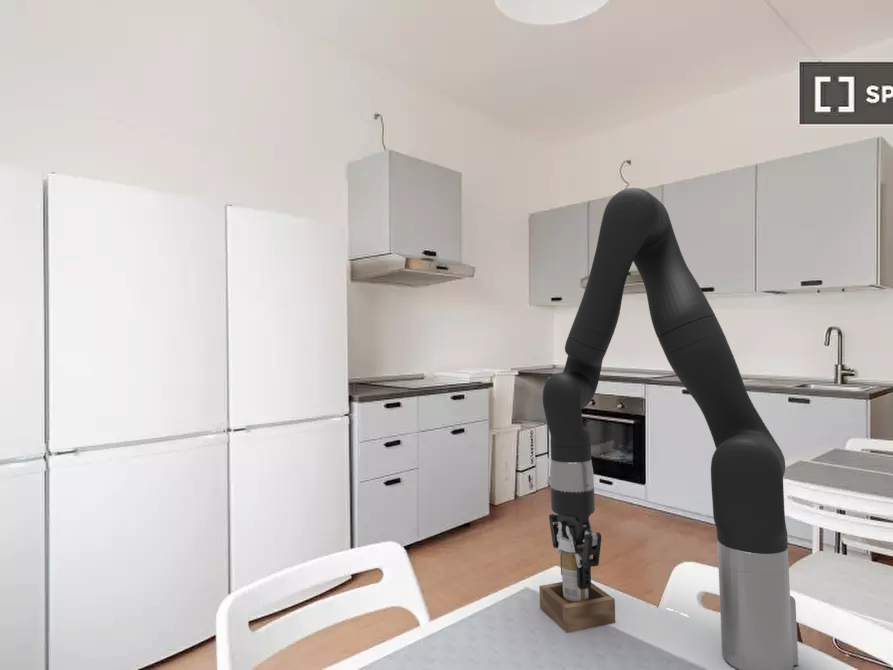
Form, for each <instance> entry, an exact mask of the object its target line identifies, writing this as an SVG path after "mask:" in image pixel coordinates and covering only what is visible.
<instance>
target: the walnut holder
mask: <svg viewBox="0 0 893 670" xmlns="http://www.w3.org/2000/svg"><path fill="white" fill-rule="evenodd" d="M615 601H616V599H615V597H612V595H610V594H608V593H607V592H606V591H604V590H603V589H602V588H600V587H599V586H597V585H595V583H593V582H591V587H590V588H588V600H586V601H581V602H576V603H571V604H568V603H567V602H566V601H564V596H563V582H562V581H560V582H555V583H549V584H543V585H539V609H541V610H542V612H544V613H545V614H546V615H547V616H548V617H549V618H550V619H551V620H552V621H553V622H555V624H557V625H558V626H559V627H560V628H561V629H562V630H563V631H564V632H566V633H572V632H577V631H582V630H587V629H591V628H597V627H600V626H604V625H611V624H615V623H616V602H615Z"/></svg>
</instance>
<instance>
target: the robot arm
mask: <svg viewBox="0 0 893 670" xmlns="http://www.w3.org/2000/svg"><path fill="white" fill-rule="evenodd" d="M598 233H599V235H598V238H597V239H598V240H597V244H596V248H595V253H594V257H593V261H592V264H591V269H590V272H589V276H588V280H587V282H586V286H585V289H584V292H583V295H582V299H581V301H580V304H579V306H578V309H577V311H576V314H575V318H574V319H573V323H572V324H571V328H570V330H569V333H568V336H567V339H566V342H565V344H564V345H565V346H564V351H565V354H566V355H567V358H566V362H565V365H564V369H563V370H562V372H557V373H554V374H552V375H551V376H549V377H548V378H547V379H546V381H545V383H544V386H543V389H542V405H543V411H544V416H545V420H546V425H547V428H548V430H549V433H550V435H549V436H550V444H549V445H550V468H549V474H550V475H549V476H550V479H549V480H550V505H551V507H550V508H551V511H552V512H553V513H552V514H549V515H548V519H549V525H550V534H551V541H552V547H553V548H554V549H557V553H558V555H560V575H561V576H562V556H561V549H560V538H562V537H565V538H567V539H569V541H570V546H571V551H572V553H574V554H575V557H576V562H577V566H578V567H577V583H578V588H580V589H581V590H583V589H588V588H590V587H591V583H592V573H591V570H592V567H593V568H594V567H597V566H599V565H600V557H601V556H600V555H601V546H602V535H601V533H600V532H594V531H593V530H592V529H591V528H592V527H591V524H590V523H591V522H590V519H589V518H590V517H591V515H593V514H594V513H595V511H596V503H595V502H596V501H595V481H594V480H595V478H594V477H595V476H594V468H593V462H592V441H591V433H590V430H589V429H588V428H587V427H586V426H584V422H583V420H584V419H583V415H582V409H584V408H585V407H587V406H588V405H589V404H590V403H591V401H592V400H593V398H594V396H595V393H596V390H597V388H598V384H599V380H600V376H601V372H602V365H603V360H604V358H605V356H606V354H607V351H608V348H609V346H610V344H611V342H612V338H613V337H614V333H615V331H616V328H617V325H618V321H619V317H620V314H621V307H622V301H623V297H624V296H623V295H624V290H625V285H626V282H627V278H628V275H629V272H630V269H631V268H632V264H633V263H634V265H635V267H636V269H637V271H638V272H639V274H640V277H641V279H642V282H643V285H644V289H645V293H646V298H647V303H648V305H647V306H648V311H649V314H650V321H651V323H652V326H653V329H654V332H655V335H656V337H657V339H658V341H659V344H660V346H661V348H662V350H663V352H664V356H665V357H666V359H667V361H668V363H669V365H670V367H671V369H672V371H673V372H674V373H675V375H676V376H677V378H678V379H679V381H680V382H681V384H682V385H683V386H684V389H686V391H687V392H688V393H689V395H690V396H691V397H692V398H693V399H694V401H695V402H696V404H697V406H698V407H699V408H700V411H701V413H702V415H703V416H704V420H705V421H706V423H707V426H708V429H709V432H710V435H711V437H712V441H713V444H714V446H715V451H714V452H713V454H712V456H711V461H710V462H711V463H710V482H711V483H710V484H711V485H710V486H711V498H712V500H711V501H712V515H713V521H714V524H715V527H716V541H717V542H716V543H717V545H716V547H717V561H718V562H717V564H718V584H719V585H718V587H719V610H720V632H721V633H720V634H721V637H720V638H721V653H722V655H721V656H722V657H723V659H724V660H725V661H726V662H727V663H728V664H729V665H731V666H732V667H733V668H735V669H737V670H792V669H793V670H794V667H795V666H798V665H799V651H798V646H799V645H798V628H797V624H798V623H797V609H796V607H797V606H796V599H795V598H794V597H793V596H792V595H791V586H790V568H789V567H790V566H789V549H788V548H789V546H788V545H789V544H788V543H789V541H788V531H787V525H786V524H787V523H786V515H785V513H786V511H785V495H784V490H785V489H784V475H785V473H786V472H785V471H786V459H785V456H784V454H783V452H782V449H781V448H780V446H779V445H778V443H777V441H776V439H774V437H773V435H772V434H771V432H770V431H769V429H768V427H767V426H766V424H765V422H764V421H763V419H762V417H761V416H760V414H759V412H758V411H757V409H756V407H755V405H754V404H753V401H752V400H751V398H750V396H749V394H748V392H747V389H746V387H745V383H744V381H743V378H742V375H741V372H740V369H739V367H738V363H737V362H736V358H735V357H734V354H733V352H732V349H731V347H730V345H729V344H730V343H729V342H728V339H727V337H726V334H725V333H724V330H723V328H722V326H721V324H720V323H719V320H718V318H717V316H716V314H715V312H714V310H713V308H712V306H711V304H710V303H709V301H708V299H707V297H706V295H705V294H704V292H703V290H702V288H701V287H700V284H699V283H698V281H697V279H696V278H695V276H694V275H693V273H692V272H691V270H690V269H689V266H688V265H687V263H686V261H685V259H684V256H683V254H682V250H681V249H680V245H679V243H678V240H677V238H676V235H675V231H674V227H673V225H672V222H671V219H670V216H669V213H668V211H667V209H666V207H665V205H664V204H663V203H662V201H660V200H659V199H658V198H656V196H654V195H653V194H651V193H650V191H649V192H648V191H647V190H645V189H642V188H639V187H628V188H625V189H622V190H619V192H617V193H615V195H613V196H612V197H611V198H610V199H609V201H608V203H607V204H606V206H605V208H604V211H603V214H602V219H601V224H600V228H599V232H598ZM582 544H584V547H581V548H578V547H577V545H582ZM581 552H583V560H582V558H581ZM794 665H795V666H794ZM793 666H794V667H793Z"/></svg>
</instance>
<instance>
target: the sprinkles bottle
mask: <svg viewBox="0 0 893 670" xmlns="http://www.w3.org/2000/svg"><path fill="white" fill-rule="evenodd" d="M577 547H578V548H581V547H584V544H582V545H577ZM560 549H561V556H562V575H561V576H562V577H561V579H562V581H561V582H563V596H564V601H566V602H567V603H568V604H571V603H576V602H581V601H586V600H588V589H583V590H581V589H580V588H578V583H577V567H578V566H577V562H576V557H575V554H574V553H572V551H571V546H570V541H569V539H567V538H565V537H562V538H560ZM581 558H582V560H583V552H581Z"/></svg>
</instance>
